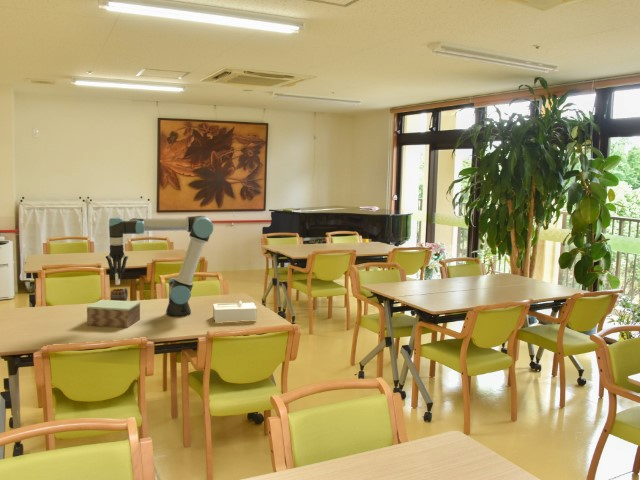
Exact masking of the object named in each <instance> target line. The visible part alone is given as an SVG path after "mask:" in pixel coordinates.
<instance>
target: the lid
mask: <svg viewBox="0 0 640 480" xmlns="http://www.w3.org/2000/svg"><path fill="white" fill-rule="evenodd" d="M139 304H140V305H141V301H136V300H135V301H132V300H127V301H118V300H110V299H99V300H98V301H96V302H93V303H91V304H89V305H87V306H86V309H87V308H91V309H109V310H126V311H128V310H130V309H132V308H134V307H135V306H137V305H139Z"/></svg>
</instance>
